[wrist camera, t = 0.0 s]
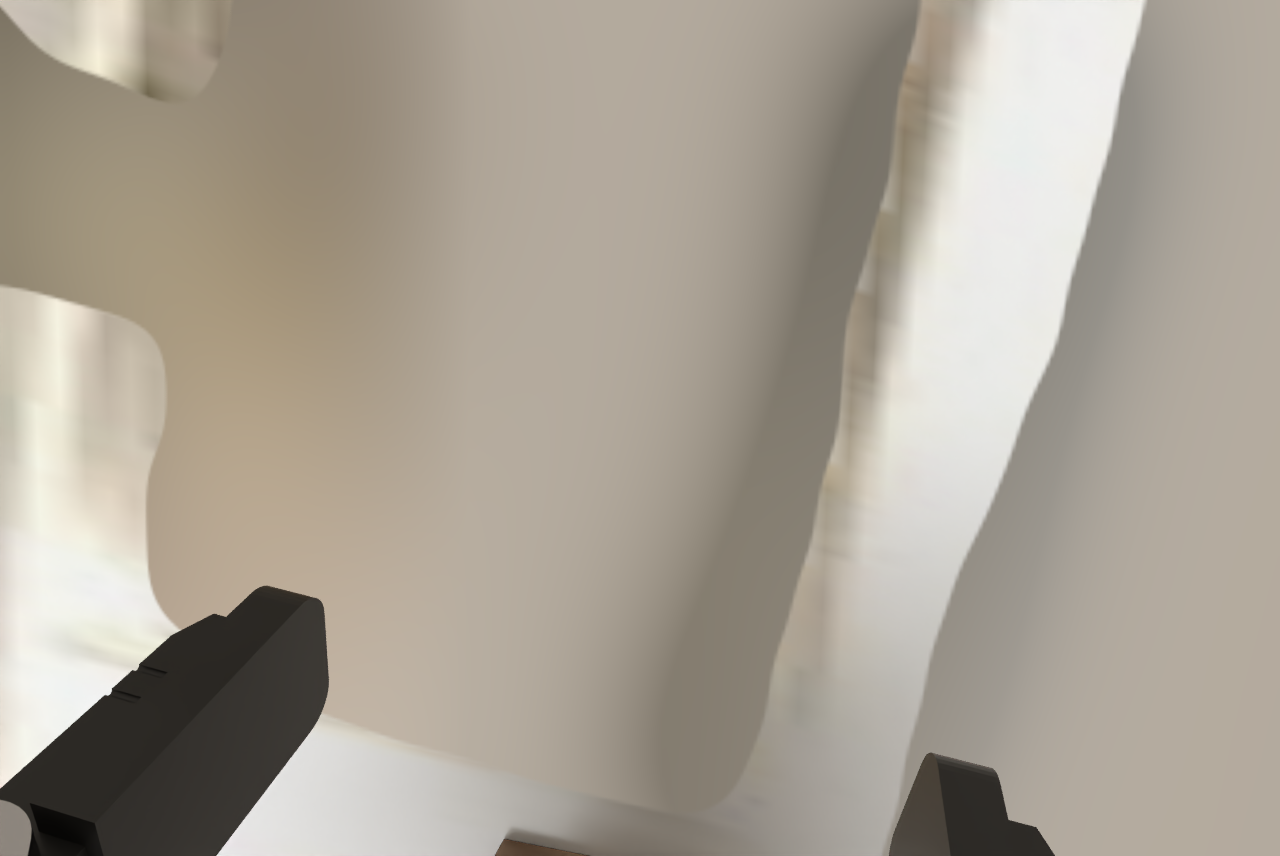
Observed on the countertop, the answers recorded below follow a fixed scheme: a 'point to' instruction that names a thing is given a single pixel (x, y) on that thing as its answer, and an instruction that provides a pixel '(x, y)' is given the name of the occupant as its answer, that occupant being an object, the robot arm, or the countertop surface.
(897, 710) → the countertop surface
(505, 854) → the walnut stand
